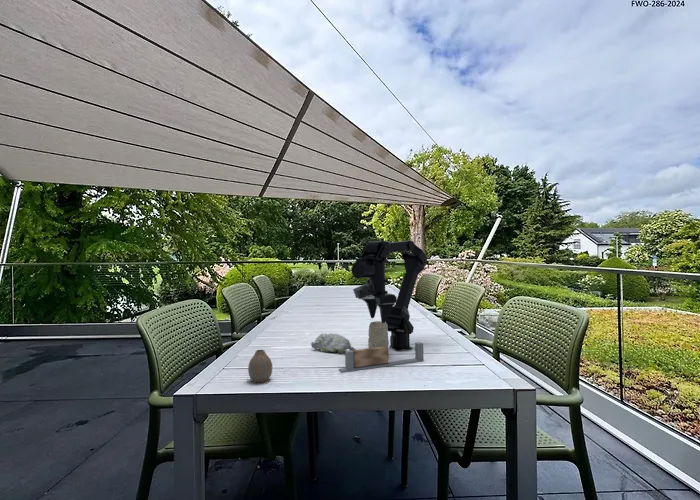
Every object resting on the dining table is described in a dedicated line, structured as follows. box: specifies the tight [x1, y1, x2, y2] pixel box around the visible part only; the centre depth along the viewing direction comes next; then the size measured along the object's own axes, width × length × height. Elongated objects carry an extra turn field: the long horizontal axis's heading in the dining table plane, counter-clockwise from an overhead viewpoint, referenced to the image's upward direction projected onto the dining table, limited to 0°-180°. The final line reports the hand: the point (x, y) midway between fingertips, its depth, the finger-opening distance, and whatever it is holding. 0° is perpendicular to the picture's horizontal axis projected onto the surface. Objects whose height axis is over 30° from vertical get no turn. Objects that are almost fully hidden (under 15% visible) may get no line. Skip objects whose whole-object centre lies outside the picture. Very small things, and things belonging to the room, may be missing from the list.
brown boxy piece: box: [348, 346, 390, 367], centre depth 122 cm, size 12×7×5 cm, turn 111°
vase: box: [247, 349, 273, 384], centre depth 109 cm, size 7×7×9 cm
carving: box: [367, 320, 390, 348], centre depth 132 cm, size 6×8×12 cm
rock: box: [310, 332, 352, 354], centre depth 139 cm, size 16×7×7 cm, turn 63°
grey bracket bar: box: [338, 341, 425, 374], centre depth 121 cm, size 30×2×6 cm, turn 111°
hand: (377, 320), depth 132 cm, fingers open, 9 cm apart
